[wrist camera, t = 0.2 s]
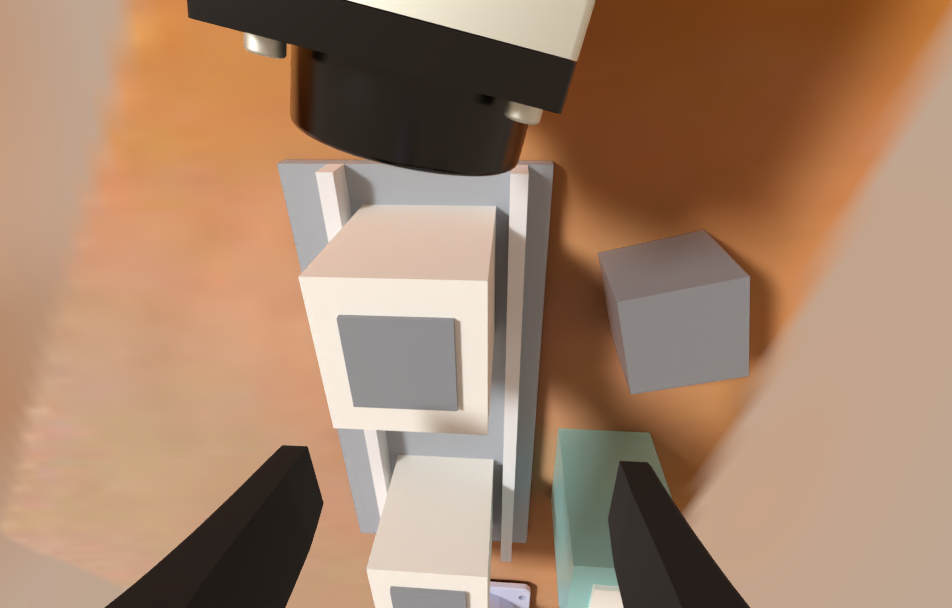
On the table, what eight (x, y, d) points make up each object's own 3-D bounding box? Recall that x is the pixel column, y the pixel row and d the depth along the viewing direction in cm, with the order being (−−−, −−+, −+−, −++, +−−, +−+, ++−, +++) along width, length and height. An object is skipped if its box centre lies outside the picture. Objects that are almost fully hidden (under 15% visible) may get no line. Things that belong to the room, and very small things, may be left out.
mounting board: (526, 533, 28) (529, 667, 22) (363, 523, 28) (324, 650, 22) (552, 160, 17) (572, 229, 11) (283, 159, 17) (165, 223, 11)
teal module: (632, 503, 26) (669, 652, 19) (550, 498, 26) (562, 643, 20) (649, 432, 23) (699, 579, 17) (558, 427, 23) (574, 571, 17)
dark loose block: (707, 315, 19) (748, 376, 16) (610, 333, 20) (630, 394, 17) (703, 229, 18) (750, 276, 14) (597, 252, 18) (617, 302, 15)
